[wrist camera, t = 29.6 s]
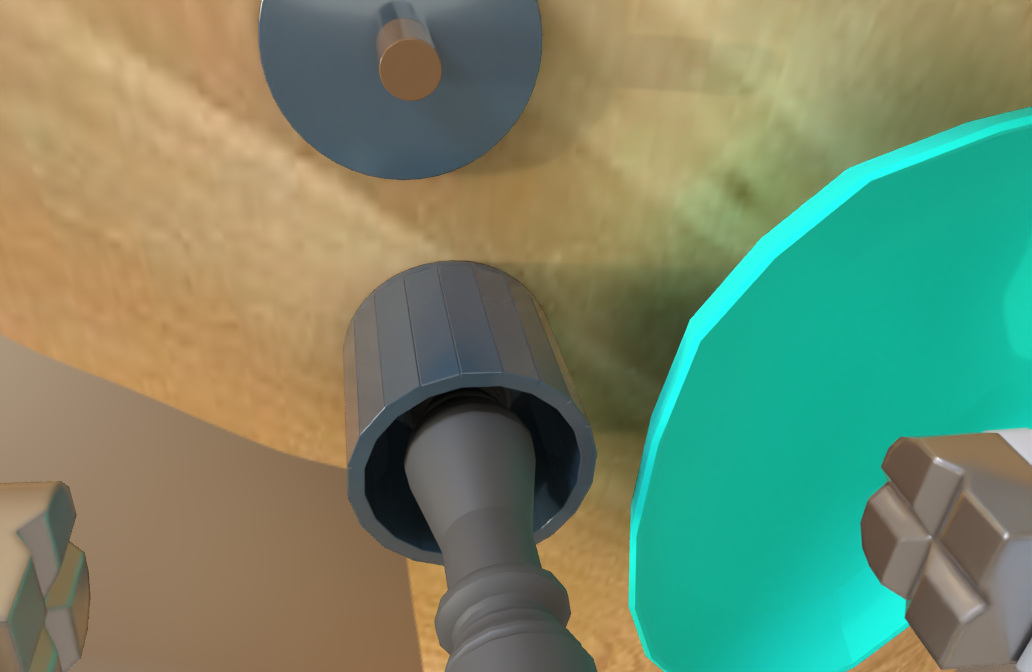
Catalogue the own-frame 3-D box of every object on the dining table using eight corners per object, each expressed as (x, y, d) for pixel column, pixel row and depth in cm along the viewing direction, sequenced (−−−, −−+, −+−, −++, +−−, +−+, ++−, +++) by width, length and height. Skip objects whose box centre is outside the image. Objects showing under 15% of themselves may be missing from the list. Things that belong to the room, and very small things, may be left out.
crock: (345, 438, 52) (349, 574, 44) (341, 260, 46) (345, 376, 38) (539, 430, 55) (580, 557, 46) (559, 259, 49) (611, 368, 40)
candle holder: (520, 322, 50) (662, 722, 29) (475, 408, 52) (575, 833, 31) (416, 288, 47) (488, 696, 27) (374, 381, 50) (409, 818, 29)
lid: (268, 170, 43) (263, 211, 39) (249, -123, 37) (240, -109, 33) (525, 172, 46) (544, 211, 42) (550, -102, 39) (575, -87, 35)
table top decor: (1012, -136, 42) (1258, -102, 31) (1223, 205, 55) (1450, 315, 44) (459, 424, 53) (494, 595, 42) (742, 596, 66) (825, 761, 55)
